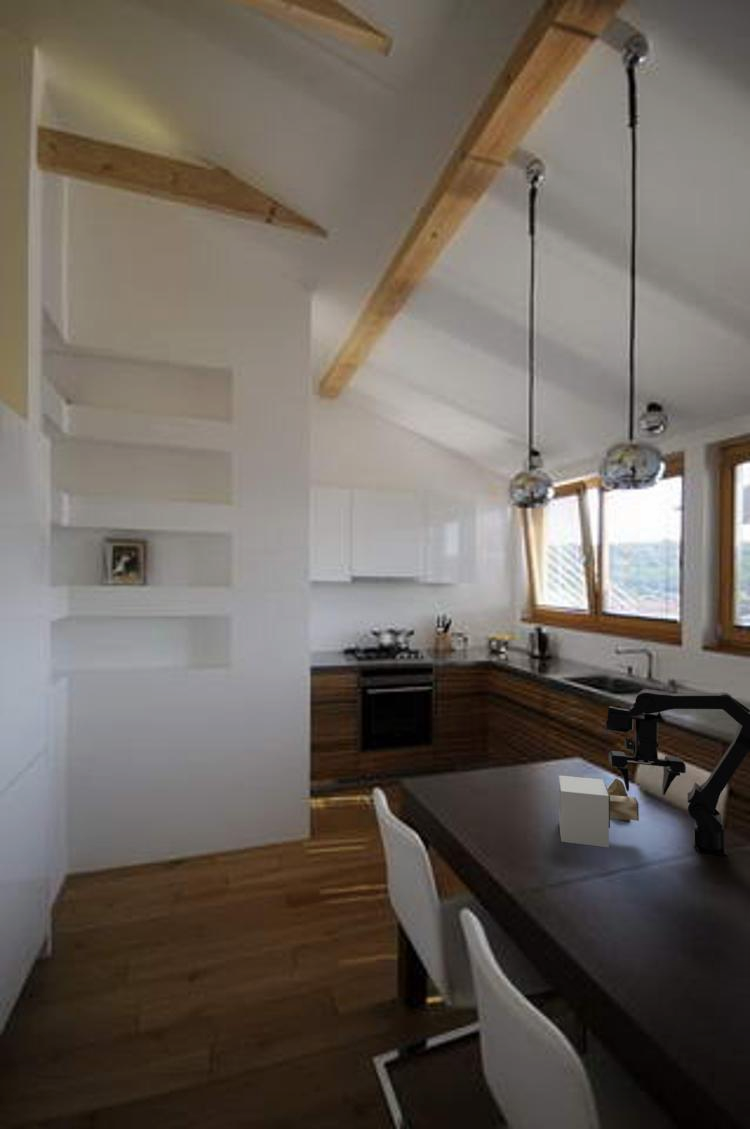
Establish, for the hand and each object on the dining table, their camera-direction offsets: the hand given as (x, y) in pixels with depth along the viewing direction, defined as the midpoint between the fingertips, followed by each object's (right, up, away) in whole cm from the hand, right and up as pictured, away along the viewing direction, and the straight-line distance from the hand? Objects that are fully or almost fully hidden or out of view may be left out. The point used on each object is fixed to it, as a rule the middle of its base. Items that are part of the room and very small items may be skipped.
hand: (645, 792), depth 158 cm
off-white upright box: (-17, -12, +1) cm, 21 cm away
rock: (-3, -13, +14) cm, 19 cm away
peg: (-9, -6, -1) cm, 11 cm away
